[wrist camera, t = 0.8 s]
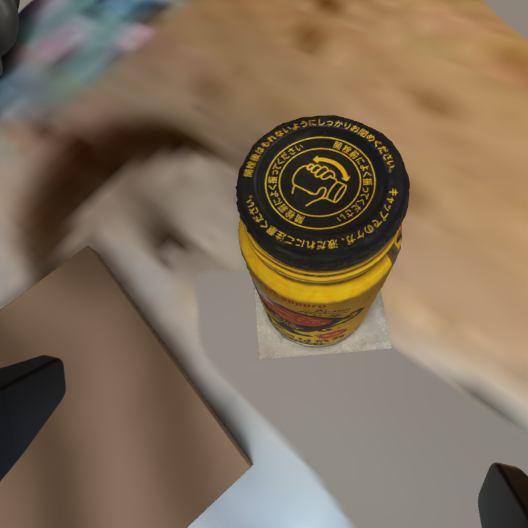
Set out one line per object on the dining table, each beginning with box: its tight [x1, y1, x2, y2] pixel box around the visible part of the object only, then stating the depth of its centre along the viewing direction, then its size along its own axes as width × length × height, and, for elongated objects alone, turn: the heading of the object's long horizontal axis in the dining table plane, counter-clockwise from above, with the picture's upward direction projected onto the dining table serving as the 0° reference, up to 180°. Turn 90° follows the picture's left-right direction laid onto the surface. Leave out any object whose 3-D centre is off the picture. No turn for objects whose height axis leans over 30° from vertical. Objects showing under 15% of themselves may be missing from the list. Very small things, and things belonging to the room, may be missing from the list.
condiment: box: [236, 115, 410, 359], centre depth 17 cm, size 7×8×12 cm
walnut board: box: [0, 246, 253, 528], centre depth 20 cm, size 16×16×1 cm
